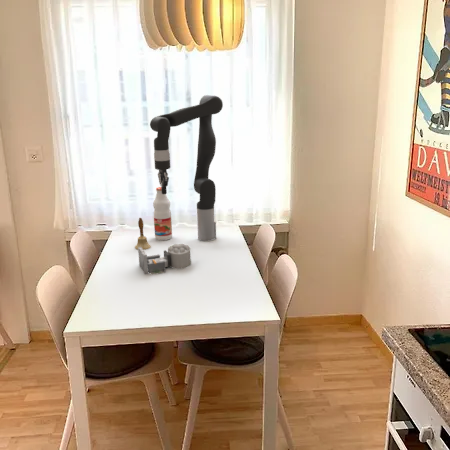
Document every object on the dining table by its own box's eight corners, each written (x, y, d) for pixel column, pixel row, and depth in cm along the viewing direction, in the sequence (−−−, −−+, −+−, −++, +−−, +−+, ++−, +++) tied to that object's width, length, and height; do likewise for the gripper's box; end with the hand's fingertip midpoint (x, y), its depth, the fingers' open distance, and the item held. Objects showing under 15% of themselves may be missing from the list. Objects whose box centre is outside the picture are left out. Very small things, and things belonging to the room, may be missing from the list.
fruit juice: (175, 236, 275) (172, 186, 267) (167, 241, 266) (164, 190, 258) (160, 234, 278) (156, 185, 270) (152, 239, 269) (148, 189, 261)
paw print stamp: (190, 258, 241) (189, 241, 238) (191, 268, 228) (190, 250, 226) (168, 259, 239) (167, 242, 237) (169, 269, 227) (167, 251, 224)
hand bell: (149, 250, 253) (147, 220, 249) (133, 250, 254) (130, 220, 249) (152, 244, 261) (150, 215, 257) (136, 244, 261) (134, 215, 257)
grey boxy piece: (166, 262, 234) (166, 250, 233) (172, 270, 225) (172, 257, 223) (147, 265, 231) (146, 253, 229) (153, 273, 221) (152, 260, 220)
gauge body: (159, 262, 236) (158, 244, 233) (166, 272, 224) (165, 253, 221) (139, 265, 233) (138, 247, 230) (145, 275, 221) (144, 256, 218)
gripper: (173, 160, 236) (175, 195, 241) (166, 156, 248) (168, 190, 253) (157, 161, 233) (160, 197, 238) (151, 157, 245) (153, 192, 250)
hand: (164, 193), depth 246 cm, fingers closed
